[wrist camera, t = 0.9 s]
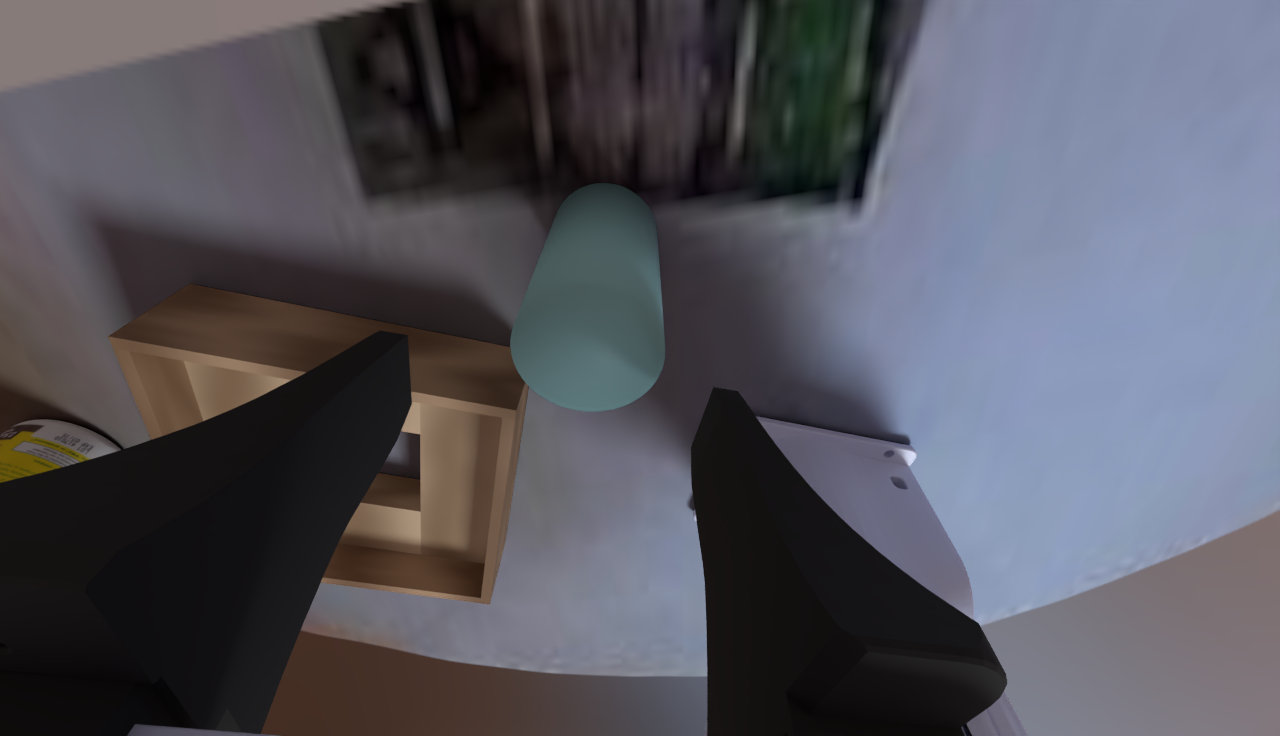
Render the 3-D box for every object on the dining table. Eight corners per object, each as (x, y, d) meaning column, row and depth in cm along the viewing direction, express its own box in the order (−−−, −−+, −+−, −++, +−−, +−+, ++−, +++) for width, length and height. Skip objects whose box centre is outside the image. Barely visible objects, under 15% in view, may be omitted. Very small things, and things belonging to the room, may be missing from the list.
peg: (669, 197, 19) (684, 302, 13) (643, 292, 21) (644, 422, 15) (561, 170, 19) (518, 266, 12) (546, 271, 21) (503, 397, 14)
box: (534, 352, 23) (516, 410, 20) (505, 540, 31) (489, 604, 28) (190, 283, 21) (107, 336, 18) (253, 503, 29) (205, 567, 26)
